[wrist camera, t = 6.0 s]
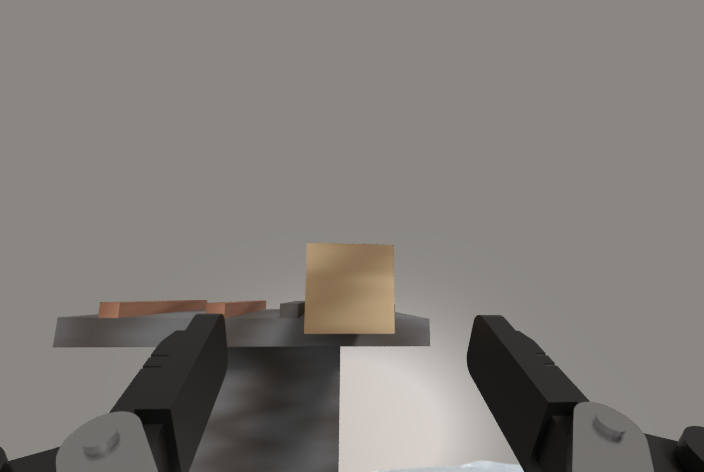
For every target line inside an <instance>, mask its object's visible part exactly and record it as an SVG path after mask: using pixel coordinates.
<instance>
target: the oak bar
mask: <svg viewBox="0 0 704 472" xmlns="http://www.w3.org/2000/svg"><path fill="white" fill-rule="evenodd" d="M393 251H394V246H393V245H379V244H336V243H307V261H306V290H305V320H304V334H395V318H394V252H393Z"/></svg>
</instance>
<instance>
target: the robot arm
mask: <svg viewBox="0 0 704 472" xmlns="http://www.w3.org/2000/svg"><path fill="white" fill-rule="evenodd" d="M227 365H228V349H227V338H226V327H225V318H224V315H223V314H201V313H197V314H196V315H195V316H194V317H193V319H192V320H191V322H190V324H189V325H188V327H187V328H186V330H176V331H175V332H173V333H172V334H170V335H169V336H168V337H166V338H165V339H164V340H162V341H161V342H160V343H159V345H158V346H157V347H156V349H155V350H154V351H153V353H152V354H151V358H148V360H147V361H146V363H145V364H144V365H143V369H141V370H140V371H139V372H138V374H137V375H136V376H135V378H134V379H133V381H132V382H131V383H130V385H129V386H128V388H127V389H126V390H125V392H124V393H123V394H122V396H121V397H120V399H119V400H118V401H117V403H116V405H115V406H114V407H113V408H112V410H111V411H110V413H108V414H104V415H101V416H99V417H96V418H94V419H92V420H90V421H88V422H87V423H85V424H83V425H82V426H80V427H79V428H78V429H76V430H75V431H74V432H73V433H72V434H70V435H69V436H68V438H67V439H66V440H65V441H64V442H63V444H62V445H61V447H57V448H54V449H51V450H47V451H44V452H40V453H36V454H33V455H29V456H26V457H22V458H18V459H15V460H11V461H8V459H7V457H6V454H5V452H4V450H3V449H2V448H1V447H0V472H189V470H190V467H191V465H192V462H193V459H194V457H195V454H196V452H197V449H198V446H199V444H200V441H201V438H202V436H203V433H204V431H205V428H206V425H207V423H208V420H209V417H210V415H211V412H212V410H213V407H214V404H215V402H216V399H217V396H218V394H219V391H220V389H221V386H222V383H223V381H224V378H225V375H226V371H227ZM467 366H468V370H469V373H470V375H471V377H472V378H473V380H474V382H475V384H476V386H477V388H478V389H479V391H480V393H481V395H482V397H483V398H484V400H485V402H486V404H487V406H488V407H489V409H490V411H491V413H492V414H493V416H494V418H495V420H496V422H497V423H498V425H499V427H500V429H501V431H502V432H503V434H504V436H505V438H506V440H507V441H508V443H509V445H510V447H511V449H512V450H513V452H514V454H515V456H516V457H517V459H518V461H519V463H520V465H521V467H522V468H523V470H524V472H704V427H699V426H691V427H687V428H686V429H685V430H684V432H683V434H682V435H681V437H680V439H679V441H674V440H670V439H665V438H661V437H657V436H653V435H649V434H644V433H643V432H642V431H641V430H640V428H639V427H638V426H637V425H636V424H635V423H634V422H633V421H632V420H630V419H629V418H628V417H626V416H625V415H623V414H622V413H620V412H618V411H616V410H615V409H613V408H610V407H608V406H605V405H603V404H599V403H595V402H590V401H589V400H588V399H587V398H586V397H585V396H584V395H583V393H581V391H580V390H579V389H578V388H577V387H576V386H575V385H574V384H573V383H572V382H571V381H570V379H569V378H568V377H567V376H566V375H565V374H564V373H563V372H562V371H561V370H560V368H558V366H555V364H554V362H553V361H552V360H551V359H550V358H549V357H548V356H546V355H545V352H544V351H543V350H542V349H541V348H540V347H539V346H538V345H537V344H536V343H535V341H533V340H532V339H530V338H529V337H527V336H525V335H524V334H523V333H521V332H520V331H515V329H514V328H513V327H512V326H511V325H510V324H509V323H508V321H507V320H506V319H505V318H504V317H503V316H501V315H478V316H476V317H475V319H474V323H473V328H472V332H471V337H470V342H469V347H468V352H467Z"/></svg>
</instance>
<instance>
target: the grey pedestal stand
mask: <svg viewBox="0 0 704 472" xmlns="http://www.w3.org/2000/svg"><path fill="white" fill-rule="evenodd" d="M197 313H201V314H223V315H224V318H225V327H226V338H227V349H228V365H227V371H226V375H225V378H224V381H223V383H222V386H221V389H220V391H219V394H218V396H217V399H216V402H215V404H214V407H213V410H212V412H211V415H210V417H209V420H208V423H207V425H206V428H205V431H204V433H203V436H202V438H201V441H200V444H199V446H198V449H197V452H196V454H195V457H194V459H193V462H192V465H191V467H190V470H189V472H338V461H339V459H338V458H339V393H340V391H339V390H340V389H339V388H340V346H430V330H429V319H427V318H422V317H417V316H412V315H407V314H402V313H397V312H395V305H394V318H395V334H304V320H305V301H295V302H289V303H282V304H280V309H266V301H239V302H219V303H207V300H183V301H137V302H100V308H99V314H98V315H85V316H71V317H59V318H58V319H57V325H56V331H55V337H54V344H53V347H157V346H158V345H159V343H160V342H161V341H162V340H164V339H165V338H166V337H168V336H169V335H170V334H172V333H173V332H175V331H176V330H186V328H187V327H188V325H189V324H190V322H191V320H192V319H193V317H194V316H195V315H196V314H197Z"/></svg>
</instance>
